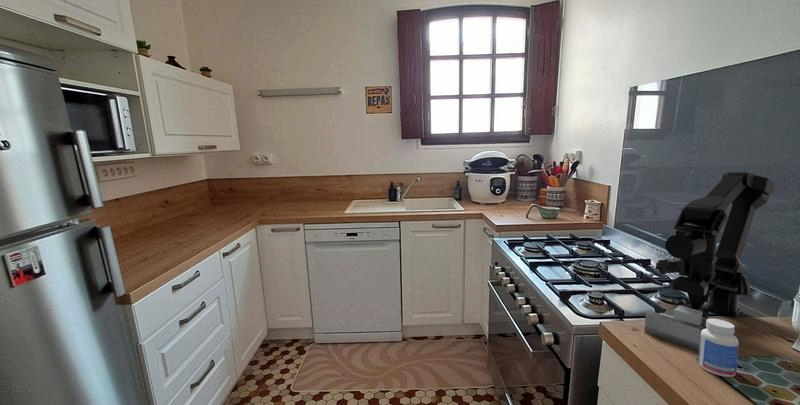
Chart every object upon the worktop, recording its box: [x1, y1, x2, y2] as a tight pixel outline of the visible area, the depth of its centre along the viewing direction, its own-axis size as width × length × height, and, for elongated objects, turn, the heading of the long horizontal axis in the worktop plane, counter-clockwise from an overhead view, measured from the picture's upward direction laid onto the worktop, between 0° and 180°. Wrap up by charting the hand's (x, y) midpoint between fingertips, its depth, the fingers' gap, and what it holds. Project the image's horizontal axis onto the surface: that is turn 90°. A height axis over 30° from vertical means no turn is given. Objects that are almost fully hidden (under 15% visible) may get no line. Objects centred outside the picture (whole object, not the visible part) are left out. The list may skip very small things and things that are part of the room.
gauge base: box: [644, 308, 708, 352], centre depth 79 cm, size 17×10×5 cm, turn 124°
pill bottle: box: [698, 318, 740, 378], centre depth 64 cm, size 6×5×10 cm
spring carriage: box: [658, 305, 703, 325], centre depth 81 cm, size 4×7×3 cm, turn 34°
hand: (695, 310), depth 83 cm, fingers closed
